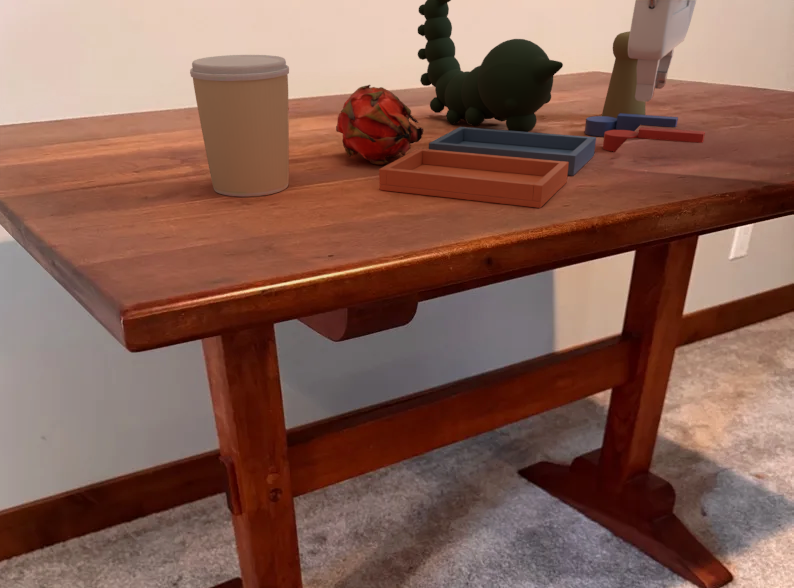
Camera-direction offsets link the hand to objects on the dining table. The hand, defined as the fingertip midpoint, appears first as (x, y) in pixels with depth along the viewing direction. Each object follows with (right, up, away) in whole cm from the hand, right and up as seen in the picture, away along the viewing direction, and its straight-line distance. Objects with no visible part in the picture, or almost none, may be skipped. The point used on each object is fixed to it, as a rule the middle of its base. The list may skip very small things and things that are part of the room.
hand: (650, 93), depth 91 cm
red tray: (-21, -13, -10) cm, 27 cm away
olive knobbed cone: (+3, +5, +21) cm, 22 cm away
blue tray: (-16, -7, 0) cm, 17 cm away
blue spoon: (+1, -1, +11) cm, 11 cm away
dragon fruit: (-31, -8, +1) cm, 32 cm away
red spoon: (+1, -6, +3) cm, 6 cm away
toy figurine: (-17, +2, +17) cm, 24 cm away
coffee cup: (-44, -13, -9) cm, 47 cm away
